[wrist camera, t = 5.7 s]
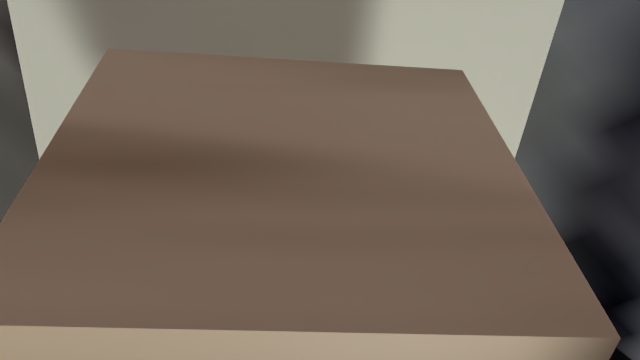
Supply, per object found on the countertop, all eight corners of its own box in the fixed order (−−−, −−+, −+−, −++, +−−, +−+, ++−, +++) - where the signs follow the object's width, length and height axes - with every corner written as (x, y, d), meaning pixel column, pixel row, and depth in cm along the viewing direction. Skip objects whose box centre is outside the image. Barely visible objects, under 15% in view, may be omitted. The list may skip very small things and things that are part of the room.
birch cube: (405, 312, 12) (473, 615, 7) (137, 306, 11) (51, 625, 7) (462, 70, 9) (619, 338, 5) (108, 48, 8) (-63, 325, 4)
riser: (444, 227, 18) (469, 301, 16) (97, 214, 17) (66, 290, 15) (542, -155, 12) (606, -134, 10) (34, -204, 12) (-33, -195, 9)
